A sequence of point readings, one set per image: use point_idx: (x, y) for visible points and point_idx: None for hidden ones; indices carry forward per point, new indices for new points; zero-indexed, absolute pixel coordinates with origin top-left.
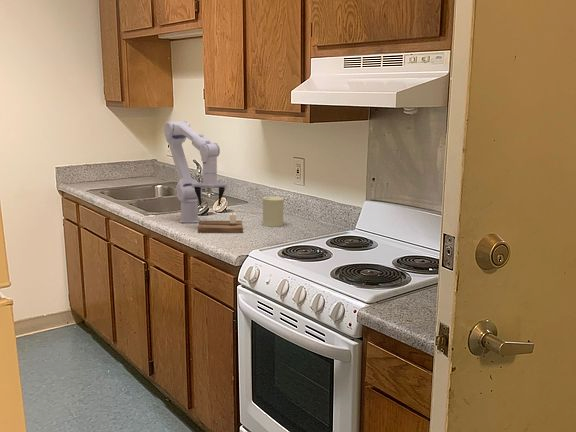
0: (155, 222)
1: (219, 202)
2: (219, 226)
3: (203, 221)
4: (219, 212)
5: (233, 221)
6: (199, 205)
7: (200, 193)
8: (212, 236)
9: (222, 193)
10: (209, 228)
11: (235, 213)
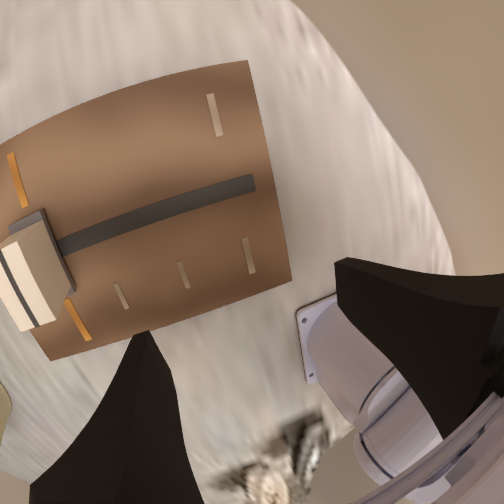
0: (440, 250)
1: (130, 354)
2: (103, 150)
3: (261, 266)
4: (251, 465)
5: (16, 232)
6: (349, 259)
7: (453, 300)
8: (126, 10)
9: (64, 458)
10: (164, 77)
11: (10, 313)
